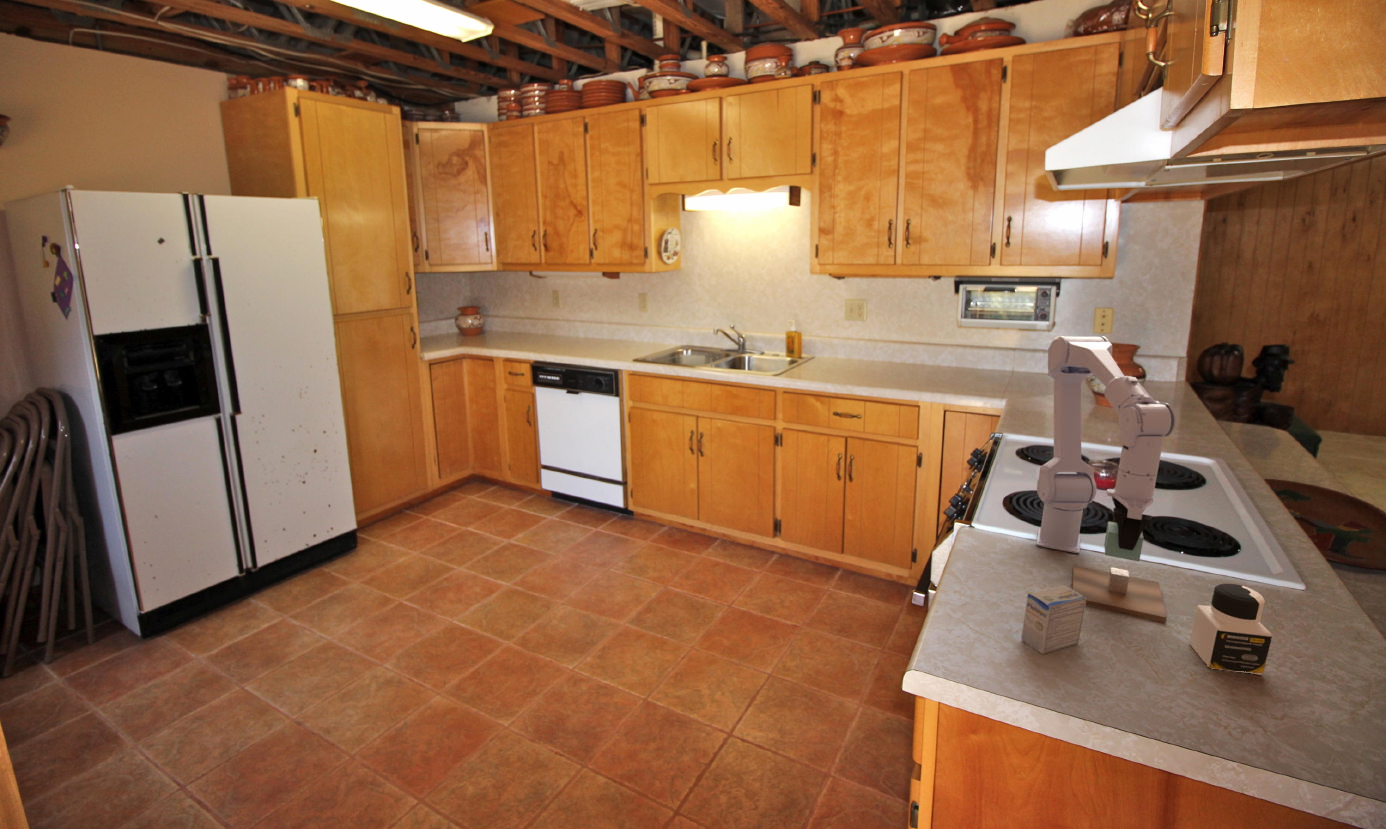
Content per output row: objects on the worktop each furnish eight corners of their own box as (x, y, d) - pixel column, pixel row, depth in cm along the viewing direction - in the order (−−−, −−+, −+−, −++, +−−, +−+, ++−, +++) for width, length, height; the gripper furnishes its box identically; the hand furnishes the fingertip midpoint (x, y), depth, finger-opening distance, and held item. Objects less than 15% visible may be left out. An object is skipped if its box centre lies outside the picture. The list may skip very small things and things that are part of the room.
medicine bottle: (1208, 669, 104) (1224, 598, 101) (1188, 643, 111) (1202, 576, 108) (1263, 676, 103) (1281, 604, 100) (1239, 649, 110) (1255, 581, 106)
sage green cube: (1104, 543, 128) (1108, 521, 126) (1137, 549, 125) (1141, 527, 124) (1105, 555, 123) (1109, 531, 122) (1139, 561, 121) (1143, 537, 120)
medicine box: (1056, 630, 115) (1063, 583, 113) (1079, 645, 111) (1087, 596, 109) (1020, 640, 112) (1026, 592, 110) (1042, 655, 108) (1050, 606, 106)
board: (1073, 569, 135) (1073, 565, 135) (1157, 586, 129) (1158, 581, 129) (1072, 601, 124) (1072, 597, 123) (1165, 622, 117) (1166, 617, 117)
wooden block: (1107, 584, 128) (1110, 567, 127) (1125, 587, 127) (1128, 570, 126) (1108, 590, 125) (1111, 573, 125) (1126, 594, 124) (1129, 576, 123)
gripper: (1109, 455, 128) (1098, 523, 132) (1112, 479, 116) (1100, 553, 119) (1154, 461, 125) (1142, 530, 128) (1162, 486, 113) (1148, 562, 116)
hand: (1125, 542), depth 124 cm, fingers closed on sage green cube, 5 cm apart
